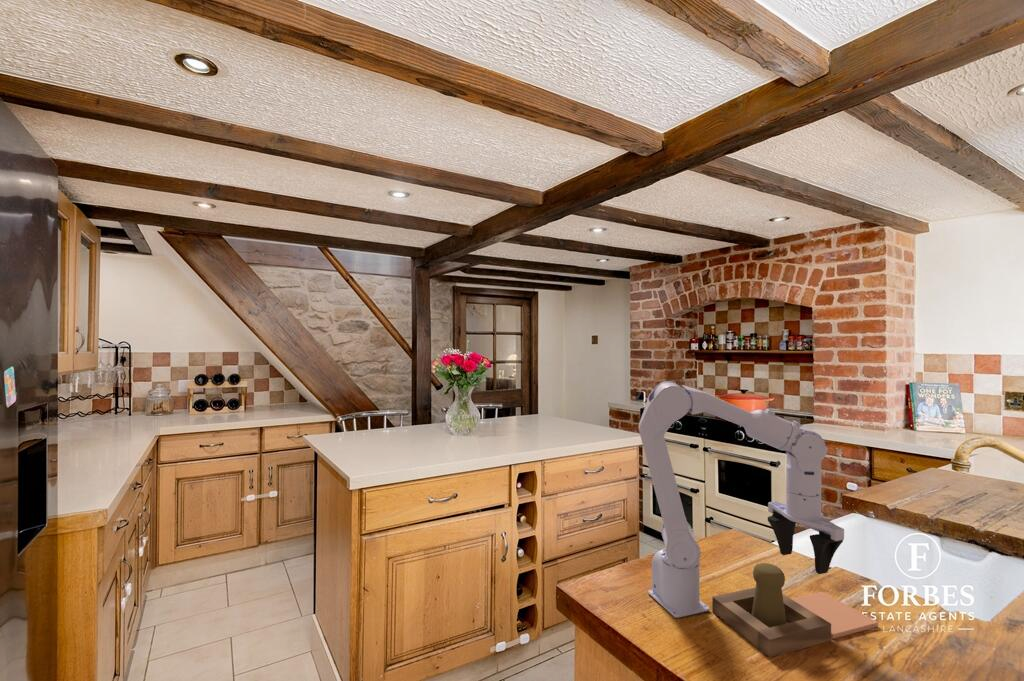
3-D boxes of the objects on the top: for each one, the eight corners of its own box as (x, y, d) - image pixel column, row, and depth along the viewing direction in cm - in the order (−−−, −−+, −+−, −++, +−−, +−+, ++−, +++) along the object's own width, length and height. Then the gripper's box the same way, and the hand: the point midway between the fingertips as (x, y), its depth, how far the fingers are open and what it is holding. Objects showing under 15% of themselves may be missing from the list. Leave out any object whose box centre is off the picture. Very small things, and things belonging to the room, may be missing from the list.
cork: (778, 616, 90) (778, 559, 90) (794, 637, 84) (794, 575, 84) (745, 615, 91) (745, 558, 91) (758, 635, 85) (758, 574, 85)
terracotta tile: (780, 605, 94) (780, 601, 94) (822, 595, 97) (822, 591, 97) (832, 638, 84) (832, 634, 84) (877, 626, 87) (877, 622, 87)
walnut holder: (712, 611, 92) (712, 596, 92) (768, 599, 96) (768, 584, 96) (769, 657, 79) (769, 639, 79) (831, 640, 83) (831, 623, 83)
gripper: (857, 501, 84) (856, 578, 84) (787, 478, 98) (787, 543, 98) (827, 506, 82) (826, 584, 82) (759, 481, 96) (759, 548, 96)
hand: (803, 562), depth 90 cm, fingers open, 7 cm apart
